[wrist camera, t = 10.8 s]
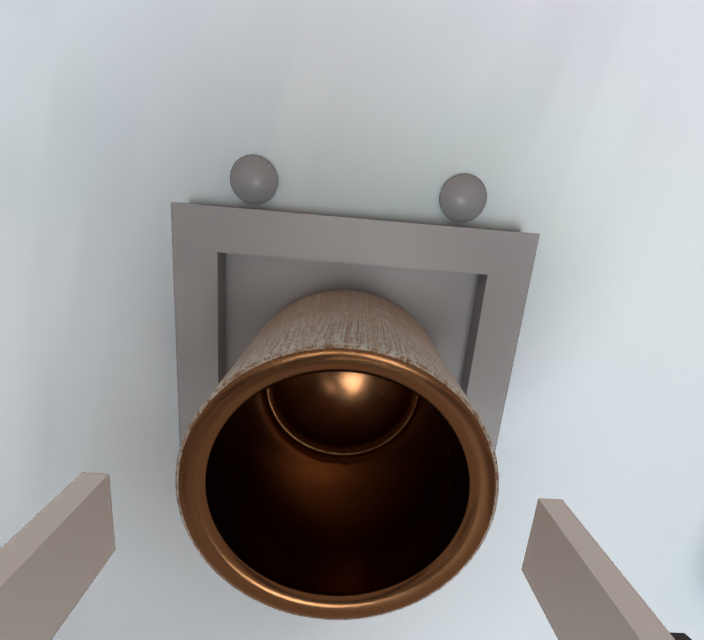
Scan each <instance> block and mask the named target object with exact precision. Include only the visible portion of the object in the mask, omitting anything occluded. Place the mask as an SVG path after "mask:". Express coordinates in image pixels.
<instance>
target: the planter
mask: <svg viewBox="0 0 704 640" xmlns="http://www.w3.org/2000/svg"><path fill="white" fill-rule="evenodd" d="M498 490H499V474H498V465H497V460H496V455H495V451H494V448H493V444H492V442H491V439H490V436H489V434H488V432H487V430H486V428H485V426H484V424H483V422H482V420H481V418H480V416H479V415H478V413H477V412H476V410H475V408H474V407H473V405H472V404H471V402H470V401H469V399H468V398H467V396H466V395H465V393H464V392H463V390H462V389H461V387H460V386H459V384H458V383H457V381H456V380H455V378H454V377H453V375H452V373H451V372H450V370H449V369H448V367H447V366H446V364H445V362H444V361H443V359H442V358H441V356H440V354H439V353H438V351H437V349H436V348H435V346H434V345H433V343H432V341H431V340H430V338H429V337H428V335H427V334H426V332H425V331H424V330H423V328H422V327H421V326H420V325H419V324H418V323H417V321H415V320H414V319H413V318H412V317H411V316H410V315H409V314H408V313H407V312H405V311H404V310H402V309H401V308H400V307H398V306H396V305H395V304H393V303H391V302H389V301H387V300H385V299H383V298H380V297H378V296H375V295H371V294H368V293H364V292H358V291H350V290H336V291H326V292H321V293H317V294H313V295H310V296H307V297H305V298H302V299H300V300H297V301H295V302H294V303H292V304H290V305H288V306H287V307H285V308H283V309H282V310H281V311H279V312H278V313H277V314H276V315H274V316H273V317H272V318H271V319H270V320H269V321H268V322H267V323H266V324H265V326H264V327H263V328H262V329H261V330H260V332H259V333H258V334H257V336H256V337H255V338H254V339H253V341H252V342H251V343H250V345H249V346H248V347H247V348H246V350H245V351H244V352H243V354H242V355H241V356H240V358H239V359H238V360H237V362H236V363H235V364H234V365H233V367H232V368H231V369H230V370H229V372H228V373H227V374H226V375H225V377H224V378H223V379H222V380H221V382H220V383H219V384H218V385H217V386H216V388H215V389H214V390H213V391H212V393H211V394H210V395H209V396H208V398H207V399H206V400H205V401H204V403H203V404H202V405H201V407H200V408H199V410H198V411H197V413H196V414H195V416H194V417H193V419H192V421H191V423H190V425H189V427H188V428H187V431H186V433H185V436H184V438H183V441H182V444H181V447H180V450H179V455H178V459H177V466H176V496H177V502H178V507H179V511H180V515H181V518H182V521H183V523H184V526H185V528H186V530H187V533H188V535H189V537H190V539H191V540H192V542H193V544H194V546H195V547H196V549H197V550H198V552H199V553H200V555H201V556H202V557H203V558H204V560H205V561H206V562H207V563H208V564H209V565H210V567H211V568H212V569H213V570H214V571H215V572H216V573H217V574H218V575H219V576H221V577H222V578H223V579H224V580H225V581H226V582H228V583H229V584H230V585H231V586H233V587H234V588H236V589H237V590H239V591H240V592H242V593H243V594H245V595H247V596H248V597H250V598H252V599H254V600H256V601H258V602H260V603H262V604H264V605H267V606H269V607H271V608H274V609H277V610H280V611H283V612H286V613H290V614H294V615H298V616H303V617H309V618H316V619H327V620H350V619H361V618H368V617H373V616H378V615H383V614H386V613H390V612H393V611H396V610H399V609H402V608H405V607H407V606H410V605H412V604H414V603H416V602H418V601H420V600H422V599H424V598H426V597H428V596H430V595H431V594H433V593H434V592H436V591H437V590H439V589H440V588H442V587H443V586H444V585H446V584H447V583H448V582H450V581H451V580H452V579H453V578H454V577H455V576H456V575H457V574H459V573H460V572H461V570H462V569H463V568H464V567H465V566H466V565H467V564H468V563H469V562H470V560H471V559H472V558H473V557H474V555H475V554H476V552H477V551H478V549H479V548H480V546H481V544H482V543H483V541H484V539H485V537H486V535H487V533H488V531H489V529H490V526H491V523H492V521H493V517H494V514H495V510H496V505H497V500H498Z"/></svg>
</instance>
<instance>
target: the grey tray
mask: <svg viewBox="0 0 704 640" xmlns="http://www.w3.org/2000/svg"><path fill="white" fill-rule="evenodd" d="M230 182H231V186H232V188H233V191H234V192H235V194H236V195H237V196H238V197H239V198H240V199H241V200H243V201H245V202H247V203H251V204H262V203H265V202H267V201H268V200H270V199H271V198H272V197H273V195H274V194H275V192H276V189H277V185H278V178H277V173H276V171H275V169H274V167H273V166H272V164H271V163H270V162H269V161H267V160H266V159H265V158H263V157H261V156H258V155H246V156H243V157H241V158H240V159H238V160H237V161H236V162H235V164H234V165H233V167H232V170H231V174H230ZM486 200H487V192H486V188H485V186H484V184H483V182H482V181H481V180H480V179H479V178H477V177H476V176H474V175H471V174H460V175H457V176H455V177H453V178H451V179H450V180H449V181H447V182H446V184H445V185H444V187H443V188H442V190H441V193H440V206H441V209H442V211H443V213H444V214H445V215H446V216H447V217H448V218H449V219H451V220H453V221H457V222H466V221H470V220H472V219H474V218H476V217H477V216H478V215H479V214H480V213H481V212H482V210H483V209H484V207H485V204H486ZM171 218H172V244H173V271H174V297H175V324H176V350H177V377H178V403H179V430H180V447H181V444H182V441H183V438H184V436H185V433H186V431H187V428H188V427H189V425H190V423H191V421H192V419H193V417H194V416H195V414H196V413H197V411H198V410H199V408H200V407H201V405H202V404H203V403H204V401H205V400H206V399H207V398H208V396H209V395H210V394H211V393H212V391H213V390H214V389H215V388H216V386H217V385H218V384H219V383H220V382H221V380H222V379H223V378H224V377H225V375H226V374H227V373H228V372H229V370H230V369H231V368H232V367H233V365H234V364H235V363H236V362H237V360H238V359H239V358H240V356H241V355H242V354H243V352H244V351H245V350H246V348H247V347H248V346H249V345H250V343H251V342H252V341H253V339H254V338H255V337H256V336H257V334H258V333H259V332H260V330H261V329H262V328H263V327H264V326H265V324H266V323H267V322H268V321H269V320H270V319H271V318H272V317H273V316H274V315H276V314H277V313H278V312H279V311H281V310H282V309H283V308H285V307H287V306H288V305H290V304H292V303H294V302H295V301H297V300H300V299H302V298H305V297H307V296H310V295H313V294H317V293H321V292H326V291H336V290H350V291H358V292H364V293H368V294H371V295H375V296H378V297H380V298H383V299H385V300H387V301H389V302H391V303H393V304H395V305H396V306H398V307H400V308H401V309H402V310H404V311H405V312H407V313H408V314H409V315H410V316H411V317H412V318H413V319H414V320H415V321H417V323H418V324H419V325H420V326H421V327H422V328H423V330H424V331H425V332H426V334H427V335H428V337H429V338H430V340H431V341H432V343H433V345H434V346H435V348H436V349H437V351H438V353H439V354H440V356H441V358H442V359H443V361H444V362H445V364H446V366H447V367H448V369H449V370H450V372H451V373H452V375H453V377H454V378H455V380H456V381H457V383H458V384H459V386H460V387H461V389H462V390H463V392H464V393H465V395H466V396H467V398H468V399H469V401H470V402H471V404H472V405H473V407H474V408H475V410H476V412H477V413H478V415H479V416H480V418H481V420H482V422H483V424H484V426H485V428H486V430H487V432H488V434H489V436H490V439H491V442H492V444H493V448H494V451H495V449H496V444H497V439H498V435H499V430H500V425H501V420H502V415H503V410H504V405H505V400H506V396H507V391H508V386H509V381H510V376H511V371H512V366H513V361H514V356H515V352H516V347H517V342H518V337H519V332H520V327H521V322H522V317H523V312H524V308H525V303H526V298H527V293H528V288H529V283H530V278H531V273H532V269H533V264H534V259H535V254H536V249H537V244H538V239H539V234H534V233H523V232H511V231H499V230H488V229H476V228H465V227H453V226H441V225H430V224H418V223H407V222H395V221H384V220H372V219H360V218H349V217H337V216H326V215H314V214H302V213H291V212H279V211H268V210H256V209H244V208H233V207H221V206H210V205H198V204H186V203H175V202H171Z"/></svg>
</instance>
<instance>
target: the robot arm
mask: <svg viewBox="0 0 704 640" xmlns="http://www.w3.org/2000/svg"><path fill="white" fill-rule="evenodd" d="M114 551H115V539H114V527H113V516H112V504H111V492H110V480H109V474H104V473H87V472H82V473H81V474H80V475H79V476H78V477H77V478H76V479H75V480H74V481H73V482H72V483H71V484H70V485H68V486H67V487H66V488H65V489H64V490H63V491H62V492H61V493H60V494H59V495H58V496H57V497H56V498H55V499H53V500H52V501H51V502H50V503H49V504H48V505H47V506H46V507H45V508H44V509H43V510H42V511H41V512H40V513H38V514H37V515H36V516H35V517H34V518H33V519H32V520H31V521H30V522H29V523H28V524H27V525H26V526H25V527H23V528H22V529H21V530H20V531H19V532H18V533H17V534H16V535H15V536H14V537H13V538H12V539H11V540H10V541H8V542H7V543H6V544H5V545H4V546H3V547H2V548H1V549H0V640H51V639H52V638H53V637H54V635H55V634H56V632H57V631H58V630H59V628H60V627H61V625H62V624H63V623H64V621H65V620H66V618H67V617H68V616H69V614H70V613H71V611H72V610H73V608H74V607H75V606H76V604H77V603H78V601H79V600H80V599H81V597H82V596H83V594H84V593H85V592H86V590H87V589H88V587H89V586H90V585H91V583H92V582H93V580H94V579H95V578H96V576H97V575H98V573H99V572H100V571H101V569H102V568H103V566H104V565H105V564H106V562H107V561H108V559H109V558H110V556H111V555H112V554H113V552H114ZM522 571H523V573H524V575H525V577H526V579H527V581H528V583H529V585H530V587H531V589H532V590H533V592H534V594H535V596H536V598H537V600H538V602H539V604H540V606H541V608H542V610H543V612H544V613H545V615H546V617H547V619H548V621H549V623H550V625H551V627H552V629H553V631H554V633H555V635H556V637H557V638H558V640H692V639H690V638H689V637H688V636H687V635H686V634H685V633H669V631H668V630H667V629H666V628H665V626H664V625H663V624H662V623H661V621H660V620H659V619H658V618H657V617H656V615H655V614H654V613H653V612H652V610H651V609H650V608H649V607H648V605H647V604H646V603H645V602H644V600H643V599H642V598H641V597H640V595H639V594H638V593H637V592H636V590H635V589H634V588H633V587H632V585H631V584H630V583H629V582H628V581H627V579H626V578H625V577H624V576H623V574H622V573H621V572H620V571H619V569H618V568H617V567H616V566H615V564H614V563H613V562H612V561H611V559H610V558H609V557H608V556H607V554H606V553H605V552H604V551H603V549H602V548H601V547H600V546H599V545H598V543H597V542H596V541H595V540H594V538H593V537H592V536H591V535H590V533H589V532H588V531H587V530H586V528H585V527H584V526H583V525H582V523H581V522H580V521H579V520H578V518H577V517H576V516H575V515H574V514H573V512H572V511H571V510H570V509H569V507H568V506H567V505H566V504H565V502H564V501H563V500H560V499H542V498H538V502H537V507H536V511H535V515H534V519H533V524H532V528H531V532H530V536H529V540H528V545H527V549H526V553H525V557H524V562H523V566H522Z"/></svg>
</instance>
